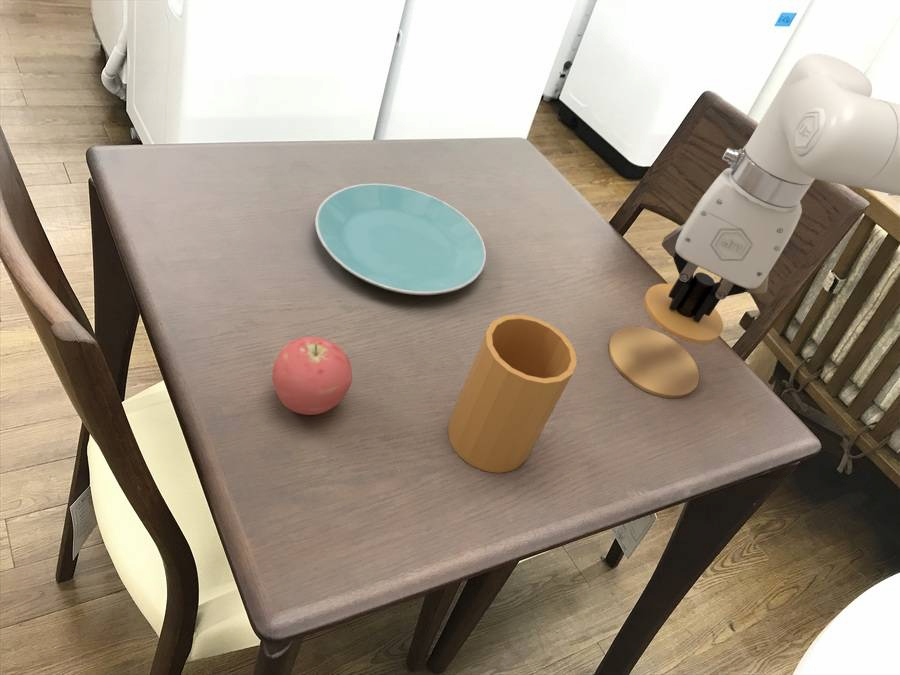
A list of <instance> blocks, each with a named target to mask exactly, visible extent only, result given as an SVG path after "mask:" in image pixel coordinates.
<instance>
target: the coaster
mask: <svg viewBox="0 0 900 675" xmlns="http://www.w3.org/2000/svg"><path fill="white" fill-rule="evenodd" d="M607 350H608V355H609V358H610V360H611V362H612V364H613V366H614V367H615V368H616V370H617V371H618V373H620V374H621V375H622V377H624V378H625V379H626V380H627V381H628V382H629V383H631V384H632V385H633V386H635V387H637V388H638V389H640V390H642V391H644V392H646V393H648V394H651V395H654V396H656V397H661V398H667V399H678V398H683V397H686V396H689V395H690V394H692V393H693V392H694V391H695V390H696V388H697V386H698V384H699V381H700V372H699V368H698V366H697V363H696V361H695V360H694V358H693V357H692V356H691V355H690V353H689V352H688V351H687V349H685V348H684V346H682V345H681V344H680V343H678V342H677V341H676V340H674V339H673V338H671V337H669V336H668V335H666V334H664V333H662V332H660V331H658V330H655V329H652V328H648V327H643V326H627V327H626V326H625V327H621V328H619V329H617V331H615V332H614V333H613V334H612V335H611V337H610V339H609V341H608V346H607Z"/></svg>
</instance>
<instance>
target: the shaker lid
mask: <svg viewBox="0 0 900 675" xmlns="http://www.w3.org/2000/svg"><path fill="white" fill-rule="evenodd" d="M715 283H716V282H715V280H714V279H713V278H712V276H710V275H709V274H707V273H704V272H698V271H697V272H696V273H694V276H693V279H692V281H691V285H690V288H689V289H688V291H687V292H686V294H685V296H684V297H683V299H682V300H681V302H680V304H679V305H678V307H677V308H676V310H671V309H669V307H670V304H671V302H672V298H670V297H668V296H669V293H670V291H671V289H672V288H673V286H674V284H673V283H658V284H654V285H652V286H651V287H650V288H649V289H647V291H646V293H645V295H644V299H643V304H644V308H645V310H646V312H647V314H648V315H649V317H650V319H652V321H653V322H654V323H655V324H656V325H657V326H658V327H660V328H661V329H662V330H663V331H665V332H667V333H668V334H670V335H671V336H673V337H676V338H677V339H680V340H682V341H686V342H688V343H693V344H710V343H714V342H715V341H717V340H718V338H720V337H721V335H722V333H723V330H724V322H723V319H722V317H721V315H720V313H719V311H718V310H717V309H716V307H715V308H714V310H713V311H712V313H711V314H710V315H709V316H707V315H705V314H704V315H703V317H702V318H701V320H700V321H699V323H698V322H696V321H694V319H693V318H694V315H695V313H696V312H697V310H698V309H699V307H700V306H701V304H702V302H703V301H704V299H705V298H706V296H707V295H708V293H709V292H710V290H711V289H712V287H713V286H714V284H715Z"/></svg>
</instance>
